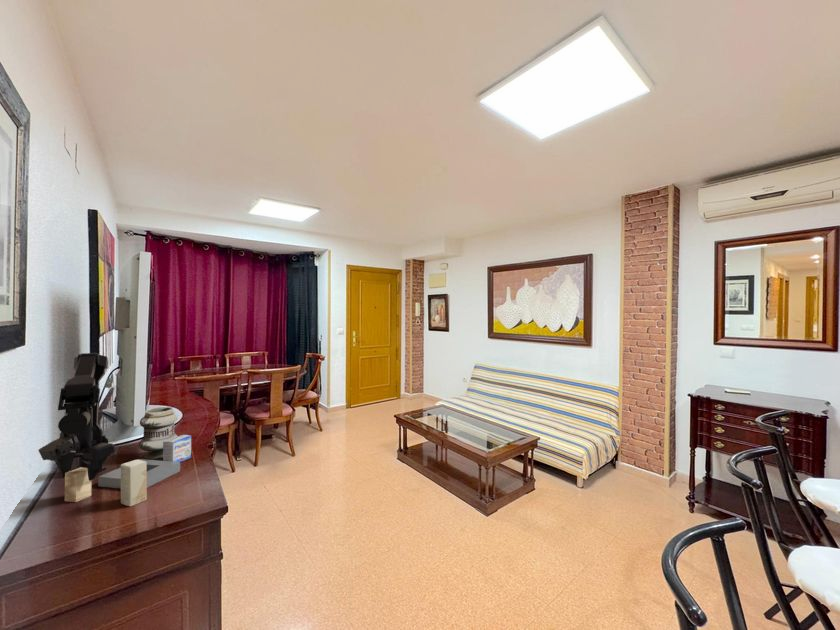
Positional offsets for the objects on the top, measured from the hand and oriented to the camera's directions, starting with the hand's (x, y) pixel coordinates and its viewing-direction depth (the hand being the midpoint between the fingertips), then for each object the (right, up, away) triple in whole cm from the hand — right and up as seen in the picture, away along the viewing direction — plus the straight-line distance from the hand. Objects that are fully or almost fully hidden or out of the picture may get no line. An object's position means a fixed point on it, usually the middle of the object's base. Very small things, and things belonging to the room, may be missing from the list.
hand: (78, 478), depth 103 cm
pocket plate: (+8, -6, +13) cm, 16 cm away
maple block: (0, -6, 0) cm, 6 cm away
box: (+18, -6, -2) cm, 19 cm away
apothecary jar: (0, -6, +31) cm, 32 cm away
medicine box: (+11, -6, +26) cm, 29 cm away
